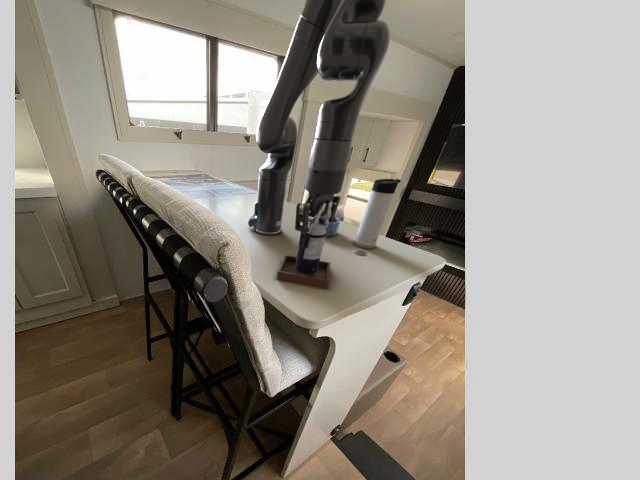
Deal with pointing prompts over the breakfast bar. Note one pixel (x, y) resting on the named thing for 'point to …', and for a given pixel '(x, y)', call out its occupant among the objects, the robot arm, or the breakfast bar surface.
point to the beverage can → (311, 251)
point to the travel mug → (375, 212)
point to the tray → (316, 279)
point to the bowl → (332, 227)
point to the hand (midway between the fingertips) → (310, 244)
